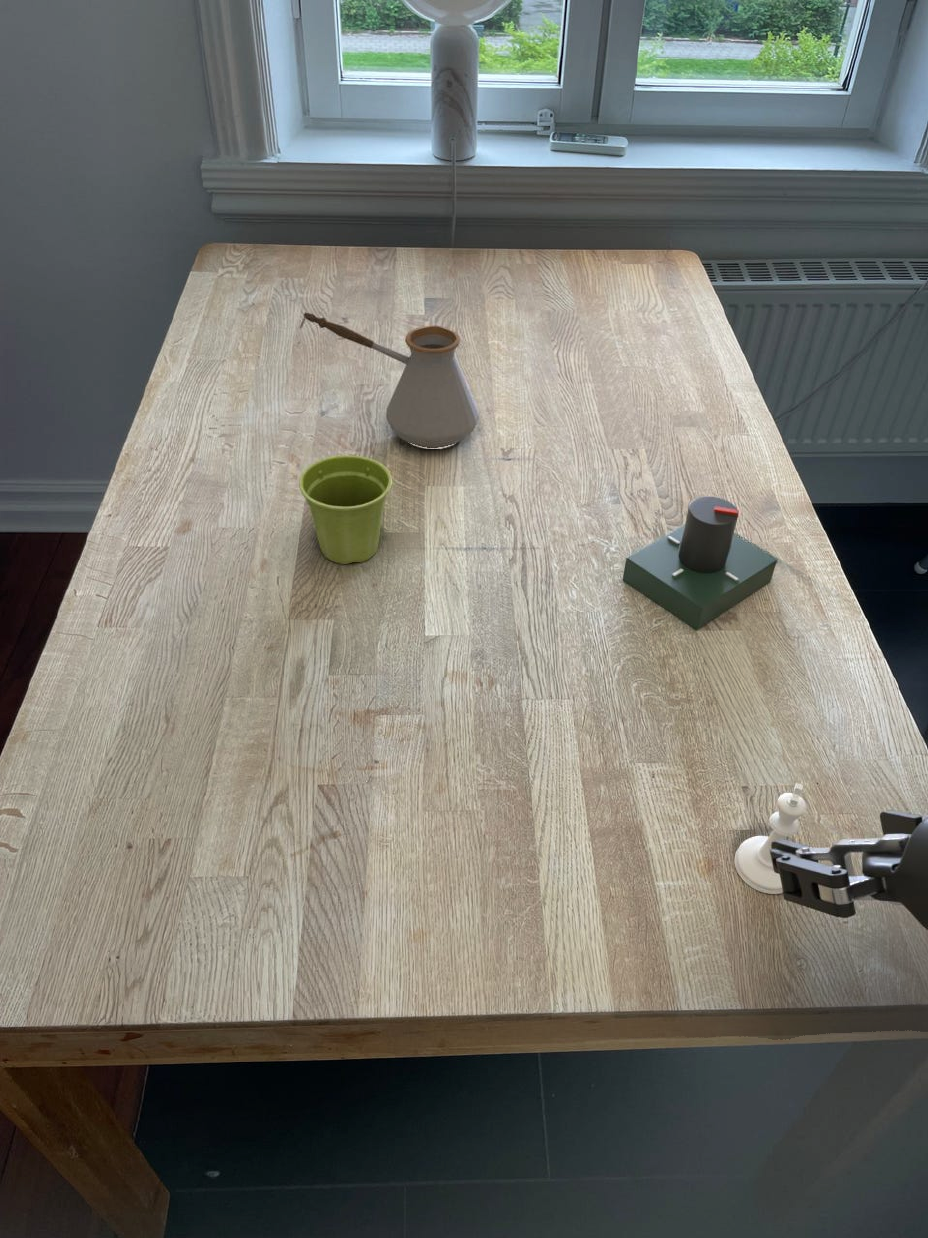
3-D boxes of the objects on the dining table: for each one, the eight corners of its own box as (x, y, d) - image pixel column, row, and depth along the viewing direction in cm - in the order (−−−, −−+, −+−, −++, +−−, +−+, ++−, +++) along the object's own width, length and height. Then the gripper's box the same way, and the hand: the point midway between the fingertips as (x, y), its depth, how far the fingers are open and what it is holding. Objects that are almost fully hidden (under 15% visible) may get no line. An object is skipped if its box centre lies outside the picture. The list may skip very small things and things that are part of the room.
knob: (676, 568, 98) (688, 518, 94) (680, 540, 101) (691, 490, 97) (725, 576, 97) (738, 525, 93) (726, 547, 101) (739, 497, 97)
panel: (696, 536, 107) (701, 513, 105) (770, 582, 102) (778, 558, 99) (622, 579, 101) (626, 556, 99) (696, 630, 96) (703, 606, 94)
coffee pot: (482, 413, 125) (486, 302, 115) (474, 462, 117) (478, 346, 107) (319, 402, 127) (309, 290, 117) (299, 449, 118) (287, 333, 108)
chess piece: (804, 854, 77) (840, 774, 70) (792, 904, 73) (828, 825, 67) (742, 831, 78) (771, 750, 71) (727, 879, 75) (757, 799, 68)
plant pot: (410, 538, 106) (409, 470, 100) (363, 586, 99) (359, 517, 94) (338, 512, 109) (333, 445, 103) (288, 558, 103) (280, 489, 97)
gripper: (1112, 787, 52) (909, 763, 68) (887, 850, 49) (728, 810, 65) (1141, 924, 52) (930, 869, 68) (918, 998, 49) (750, 921, 64)
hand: (832, 840), depth 66 cm, fingers open, 8 cm apart
